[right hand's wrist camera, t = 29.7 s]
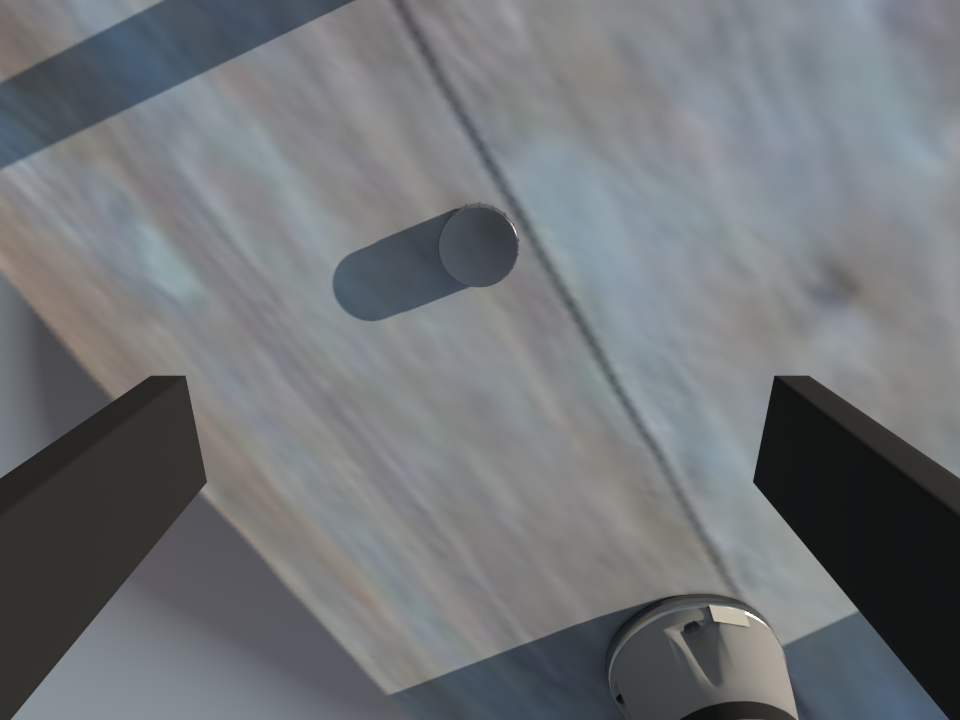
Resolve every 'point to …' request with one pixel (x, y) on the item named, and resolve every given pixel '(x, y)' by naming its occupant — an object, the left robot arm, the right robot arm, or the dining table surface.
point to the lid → (478, 245)
